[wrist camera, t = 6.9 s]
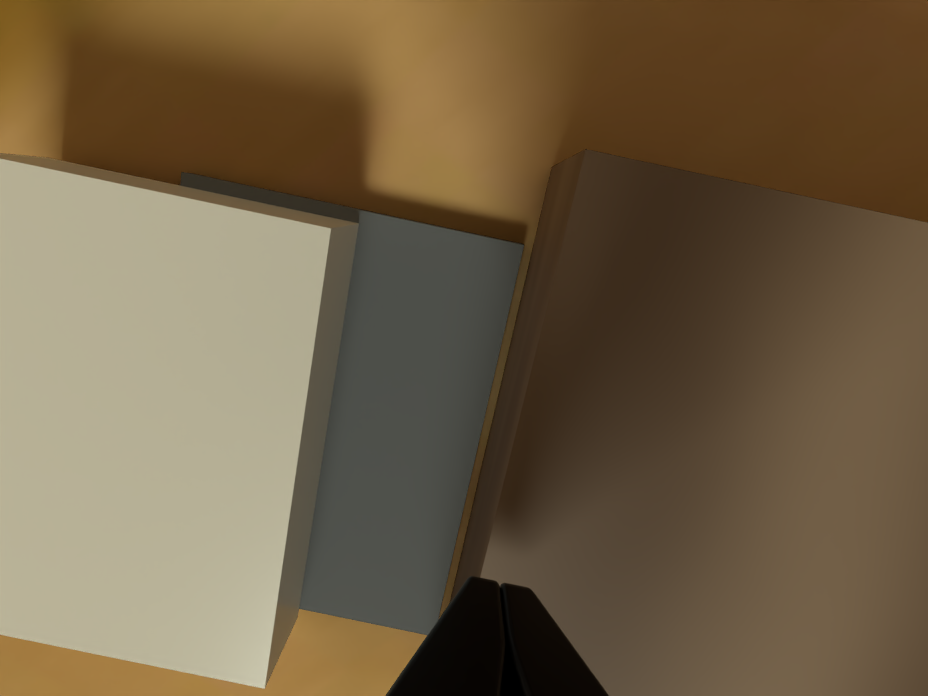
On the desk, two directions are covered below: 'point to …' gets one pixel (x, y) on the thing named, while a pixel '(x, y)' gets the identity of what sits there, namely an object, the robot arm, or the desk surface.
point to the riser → (716, 437)
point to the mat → (400, 409)
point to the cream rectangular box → (161, 414)
